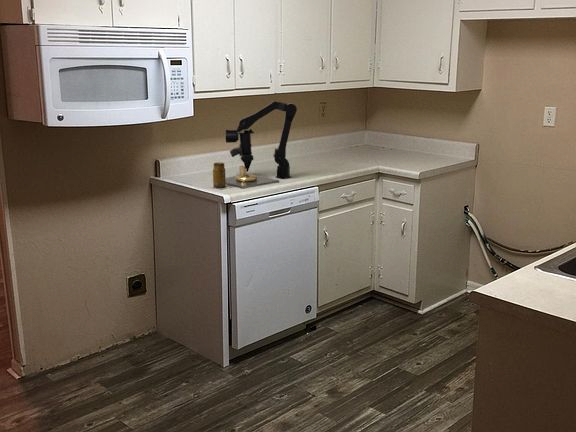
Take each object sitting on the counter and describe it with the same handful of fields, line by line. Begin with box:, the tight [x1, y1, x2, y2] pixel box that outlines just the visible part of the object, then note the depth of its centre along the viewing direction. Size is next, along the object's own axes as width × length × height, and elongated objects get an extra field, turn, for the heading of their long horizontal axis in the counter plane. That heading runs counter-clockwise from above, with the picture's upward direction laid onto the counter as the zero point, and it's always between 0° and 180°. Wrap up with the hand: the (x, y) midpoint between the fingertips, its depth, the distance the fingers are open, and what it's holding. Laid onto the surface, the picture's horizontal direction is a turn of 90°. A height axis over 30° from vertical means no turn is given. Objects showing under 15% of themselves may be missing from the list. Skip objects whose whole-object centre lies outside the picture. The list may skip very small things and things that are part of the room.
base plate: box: [225, 173, 280, 189], centre depth 327 cm, size 24×24×1 cm
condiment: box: [210, 162, 231, 190], centre depth 313 cm, size 7×8×12 cm
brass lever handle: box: [235, 165, 258, 181], centre depth 329 cm, size 12×16×5 cm
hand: (246, 171), depth 337 cm, fingers closed
